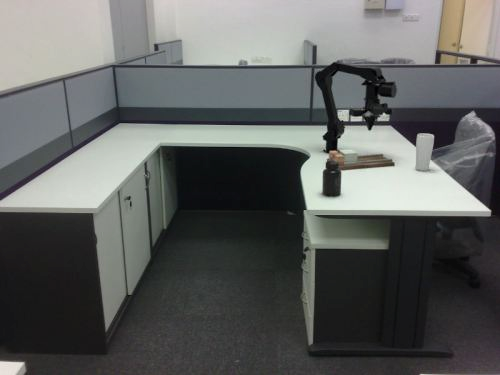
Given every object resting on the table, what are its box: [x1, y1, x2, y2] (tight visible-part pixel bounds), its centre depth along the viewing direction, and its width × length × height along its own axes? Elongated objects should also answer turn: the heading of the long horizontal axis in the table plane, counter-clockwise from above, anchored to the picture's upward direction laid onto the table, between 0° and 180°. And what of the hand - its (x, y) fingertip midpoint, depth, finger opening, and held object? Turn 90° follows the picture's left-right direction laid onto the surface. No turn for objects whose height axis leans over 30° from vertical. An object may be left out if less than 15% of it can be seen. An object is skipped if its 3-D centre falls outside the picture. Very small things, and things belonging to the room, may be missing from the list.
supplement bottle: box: [321, 160, 342, 197], centre depth 171 cm, size 7×7×12 cm
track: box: [326, 151, 395, 171], centre depth 208 cm, size 14×26×6 cm, turn 102°
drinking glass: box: [415, 133, 435, 172], centre depth 196 cm, size 7×7×15 cm
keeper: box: [338, 149, 359, 163], centre depth 206 cm, size 6×6×4 cm
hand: (369, 130), depth 213 cm, fingers closed
